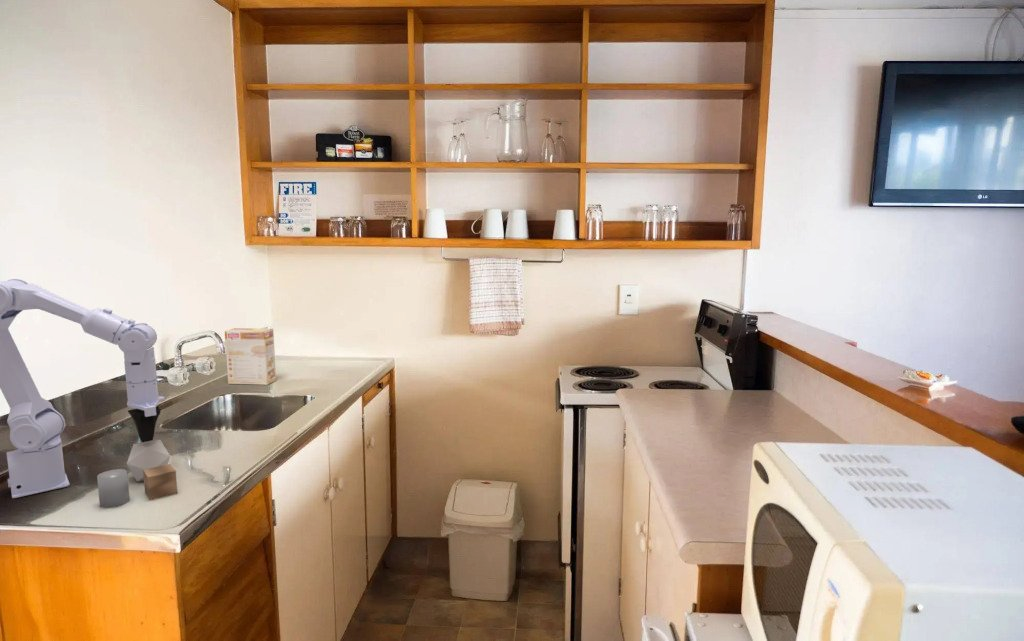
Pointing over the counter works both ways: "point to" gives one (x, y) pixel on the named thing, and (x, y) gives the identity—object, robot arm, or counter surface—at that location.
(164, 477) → the walnut block
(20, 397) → the robot arm
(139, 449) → the pale grey faceted polyhedron
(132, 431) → the counter surface
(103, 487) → the grey cylinder
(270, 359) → the coffeecake box
